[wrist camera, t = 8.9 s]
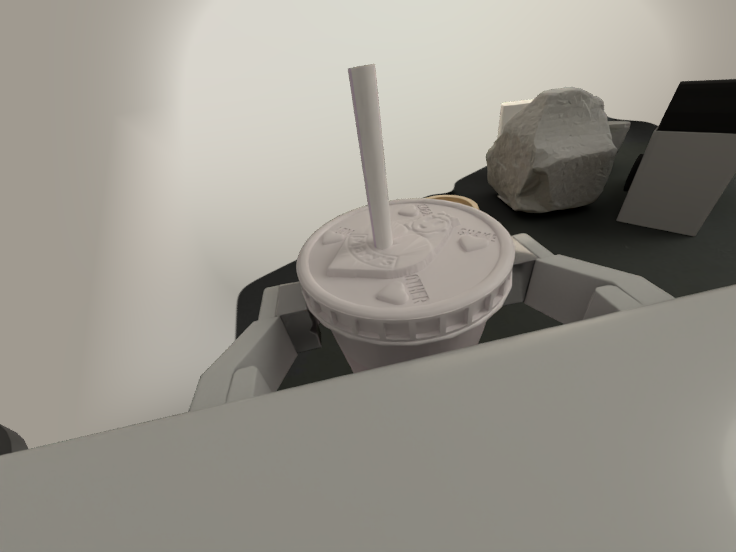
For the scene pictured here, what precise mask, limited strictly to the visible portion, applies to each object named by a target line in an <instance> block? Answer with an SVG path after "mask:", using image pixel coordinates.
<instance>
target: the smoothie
mask: <svg viewBox="0 0 736 552" xmlns="http://www.w3.org/2000/svg"><path fill="white" fill-rule="evenodd" d="M348 73H349V80H350V86H351V93H352V100H353V107H354V114H355V120H356V127H357V134H358V140H359V147H360V154H361V161H362V168H363V174H364V181H365V188H366V195H367V202H368V205H366V206H362V207H359V208H356V209H353V210H351V211H348V212H346V213H344V214H342V215H339V216H337V217H336V218H334V219H332V220H330V221H329V222H327V223H326V224H324V225H323V226H322V227H320V228H319V229H318V230H316V231H315V232H314V233H313V234H312V235H311V236H310V237H309V239H308V240H307V241H306V243H305V244H304V245H303V247H302V249H301V251H300V252H299V255H298V258H297V275H298V278H299V281H300V283H301V286H302V294H303V296H304V299H305V301H306V304H307V306H308V309H309V311H310V312H311V313H312V314H313V315H314V316H315V317H316V318H317V319H318V320H319V321H320V322H321V323H322V324H323V325H324V326H325V327H327V328H329V329H331V331H332V333H333V335H334V337H335V339H336V341H337V343H338V344H339V346H340V348H341V350H342V351H343V353H344V355H345V357H346V359H347V361H348V363H349V365H350V367H351V369H352V371H353V372H354V373H358V372H362V371H366V370H371V369H375V368H379V367H383V366H388V365H392V364H396V363H400V362H405V361H409V360H413V359H418V358H422V357H426V356H430V355H435V354H439V353H443V352H448V351H452V350H456V349H460V348H465V347H469V346H473V345H477V344H478V342H479V340H480V337H481V335H482V333H483V330H484V327H485V323H486V320H487V319H489V318H490V317H491V316H492V315H493V314H494V313H495V312H497V311H498V310H499V309H500V308H501V307H502V305H503V303H504V302H505V300H506V298H507V296H508V294H509V292H510V290H511V288H512V268H513V263H514V258H515V248H514V243H513V240H512V238H511V236H510V234H509V233H508V231H507V230H506V229H505V228H504V227H503V226H502V225H501V224H500V223H499V222H498V221H497V220H495V219H494V218H492V217H491V216H489V215H488V214H486V213H484V212H482V211H480V210H478V209H476V208H473V207H470V206H467V205H464V204H461V203H456V202H451V201H446V200H438V199H427V198H412V199H411V198H410V199H396V200H390V201H389V199H388V189H387V179H386V169H385V161H384V160H385V159H384V149H383V140H382V130H381V121H380V110H379V100H378V90H377V80H376V70H375V64H371V65H364V66H358V67H353V68H349V69H348Z"/></svg>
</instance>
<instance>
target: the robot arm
mask: <svg viewBox="0 0 736 552" xmlns="http://www.w3.org/2000/svg"><path fill="white" fill-rule="evenodd" d="M511 238H512V240H513V243H514V248H515V258H514V263H513V268H512V288H511V290H510V292H509V294H508V296H507V298H506V300H505V302H504V303H503V305H502V306H507V305H512V304H517V303H522V302H524V303H525V304H527V305H529V306H531V307H533V308H534V309H536V310H538V311H540V312H542V313H544V314H546V315H548V316H550V317H552V318H553V319H555V320H557V321H559V322H561V323H563V324H564V325H560V326H555V327H551V328H547V329H542V330H538V331H534V332H529V333H525V334H521V335H516V336H512V337H508V338H503V339H499V340H495V341H490V342H486V343H482V344H477V345H473V346H469V347H465V348H460V349H456V350H452V351H448V352H443V353H439V354H435V355H430V356H426V357H422V358H418V359H413V360H409V361H405V362H400V363H396V364H392V365H388V366H383V367H379V368H375V369H371V370H366V371H362V372H358V373H353V374H349V375H345V376H340V377H336V378H332V379H328V380H323V381H319V382H315V383H310V384H306V385H302V386H298V387H293V388H289V389H285V390H280V391H277V389H278V387H279V386H280V384H281V382H282V381H283V379H284V377H285V375H286V374H287V372H288V370H289V369H290V367H291V365H292V363H293V362H294V360H295V358H296V357H297V353H301V352H305V351H309V350H313V349H317V348H321V332H320V329H319V325H320V321H319V320H318V319H317V318H316V317H315V316H314V315H313V314H312V313H311V312H310V311H309V309H308V306H307V304H306V301H305V299H304V296H303V294H302V286H301V283H300V281H299V282H294V283H289V284H284V285H280V286H279V285H278V286H274V287H269V288H266V289H265V290H264V293H263V298H262V303H261V308H260V313H259V319H258V321H254V322H253V323H252V324H251V325H250V326H249V327H248V328H247V329H246V330H245V331H244V332H243V333H242V334H241V335H240V336H239V337H238V338H237V339H236V340H235V341H234V342H233V343H232V345H231V346H230V347H229V348H228V349H227V350H226V351H225V352H224V353H223V354H222V355H221V356H220V357H219V358H218V359H217V360H216V361H215V362H214V363H213V364H212V365H211V366H210V367H209V368H208V369H207V370H206V371H205V372H204V373H203V374H202V375H201V376H200V379H199V382H198V385H197V388H196V391H195V394H194V397H193V400H192V403H191V406H190V408H189V411H188V412H186V413H182V414H177V415H173V416H169V417H165V418H160V419H156V420H152V421H147V422H143V423H139V424H134V425H130V426H126V427H122V428H117V429H113V430H109V431H105V432H100V433H96V434H91V435H87V436H83V437H79V438H75V439H70V440H66V441H62V442H57V443H53V444H49V445H44V446H40V447H36V448H31V449H27V450H22V451H18V452H13V453H9V454H4V455H0V552H736V284H735V285H731V286H726V287H722V288H718V289H714V290H709V291H705V292H701V293H696V294H692V295H688V296H683V297H679V298H674V297H672V296H671V295H669V294H668V293H666V292H665V291H663V290H661V289H660V288H658V287H657V286H655V285H654V284H652V283H651V282H649V281H647V280H646V279H644V278H643V277H641V276H637V275H633V274H630V273H626V272H622V271H618V270H615V269H611V268H607V267H603V266H600V265H596V264H592V263H588V262H585V261H581V260H577V259H574V258H570V257H566V256H562V255H553V254H552V253H551V252H549V251H548V250H547V249H546V248H544V247H543V246H542V245H540V244H539V243H538V242H536V241H535V240H534V239H533V238H531V237H530V236H529V235H527V234H524V233H521V234H517V235H513V236H511Z"/></svg>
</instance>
